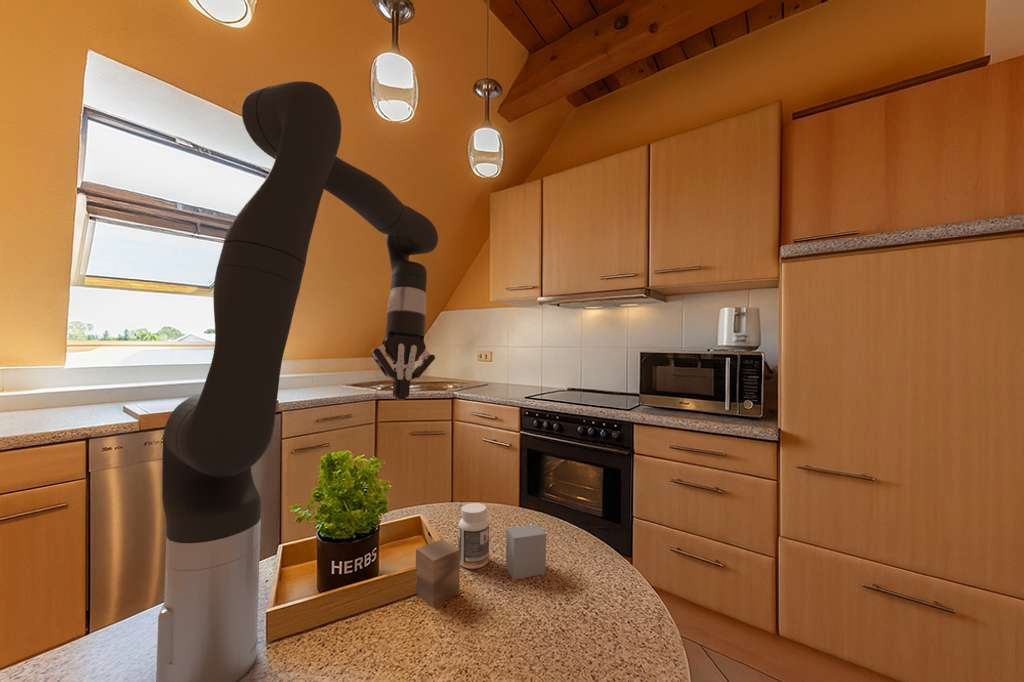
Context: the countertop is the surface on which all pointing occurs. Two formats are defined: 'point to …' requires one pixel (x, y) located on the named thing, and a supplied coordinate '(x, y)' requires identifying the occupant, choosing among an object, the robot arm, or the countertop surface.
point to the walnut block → (437, 572)
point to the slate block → (525, 551)
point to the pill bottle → (473, 536)
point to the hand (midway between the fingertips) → (400, 399)
